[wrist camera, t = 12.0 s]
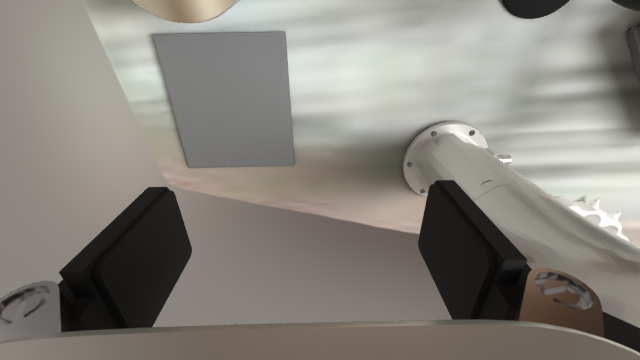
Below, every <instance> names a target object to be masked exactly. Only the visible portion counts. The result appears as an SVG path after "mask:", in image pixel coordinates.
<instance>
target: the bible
mask: <svg viewBox="0 0 640 360" xmlns="http://www.w3.org/2000/svg"><path fill="white" fill-rule="evenodd" d="M627 42H628V46H629V48H630V53H631V56H632V59H633V62H634V65H635V68H636V72H637V76H638V78H639V80H640V23H639V24H638V25H637V26H636V27H633V28H630V30H629V31H628V32H627Z"/></svg>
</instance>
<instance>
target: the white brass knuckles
mask: <svg viewBox="0 0 640 360" xmlns="http://www.w3.org/2000/svg"><path fill="white" fill-rule="evenodd" d="M554 198H556V199H557V200H558V201H560V202H562V203H563V204H565V205H566V206H568V207H569V208H571V209H572V210H574V211H576V212H577V213H579V214H580V215H582V216H583V217H585V218H586V219H588V220H590V221H592V222H594V223H595V224H597V225H599V226H601V227H603V228H604V229H606V230H608V231H610V232H612V233H614V234H616V235H618V236H620V237H622V238H623V239H625V240H627V241H629V239H628V238H627V237H625V236H624V235H622V234H621V229H622V227H621V225H620V223H619V222H618V220H617V219H618V217H619V215H620V214H621V213H613V214H607V213H606V212H604V211H603V210H601V209H599V208H598V207H599V198H598V199H596V200H593V201H591V202H585V201H576V202H571V201H569V200H568V199H566V198H565V197H563V196H557V197H554Z"/></svg>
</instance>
